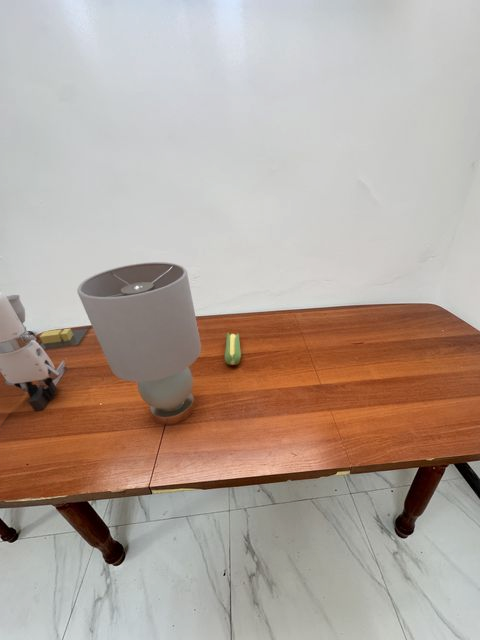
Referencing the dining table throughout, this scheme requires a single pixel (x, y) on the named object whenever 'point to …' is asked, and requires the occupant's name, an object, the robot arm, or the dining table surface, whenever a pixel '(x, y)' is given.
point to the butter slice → (67, 334)
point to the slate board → (73, 341)
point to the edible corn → (232, 349)
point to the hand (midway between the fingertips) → (45, 397)
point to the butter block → (51, 336)
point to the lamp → (147, 332)
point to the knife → (39, 398)
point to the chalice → (18, 308)
